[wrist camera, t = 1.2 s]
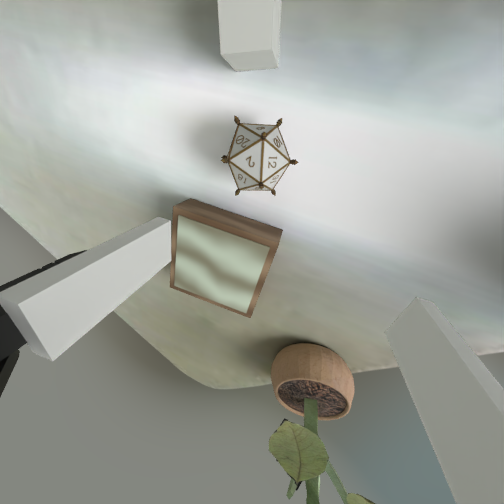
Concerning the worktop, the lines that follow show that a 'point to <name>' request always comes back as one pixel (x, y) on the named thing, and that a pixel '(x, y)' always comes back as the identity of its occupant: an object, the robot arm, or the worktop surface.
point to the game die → (257, 156)
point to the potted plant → (310, 414)
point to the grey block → (250, 33)
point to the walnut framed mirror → (220, 255)
